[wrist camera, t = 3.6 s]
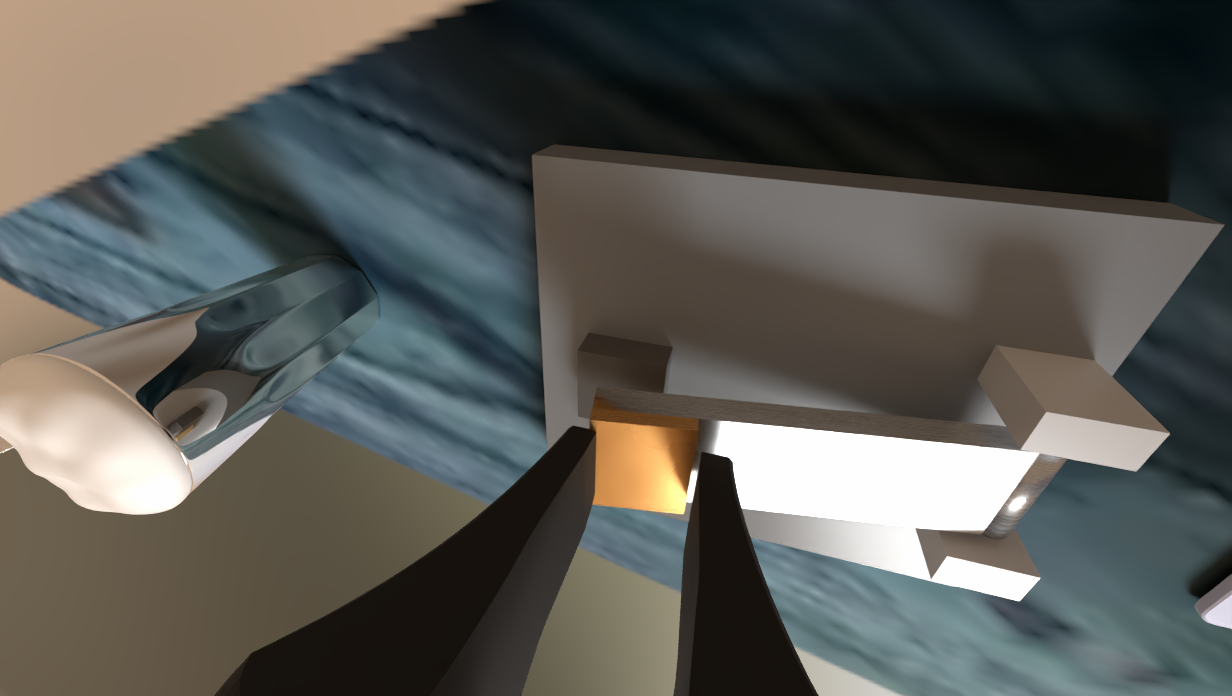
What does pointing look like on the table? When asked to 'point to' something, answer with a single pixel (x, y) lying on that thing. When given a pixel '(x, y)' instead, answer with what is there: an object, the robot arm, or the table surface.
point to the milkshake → (178, 384)
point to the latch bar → (816, 462)
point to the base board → (857, 314)
